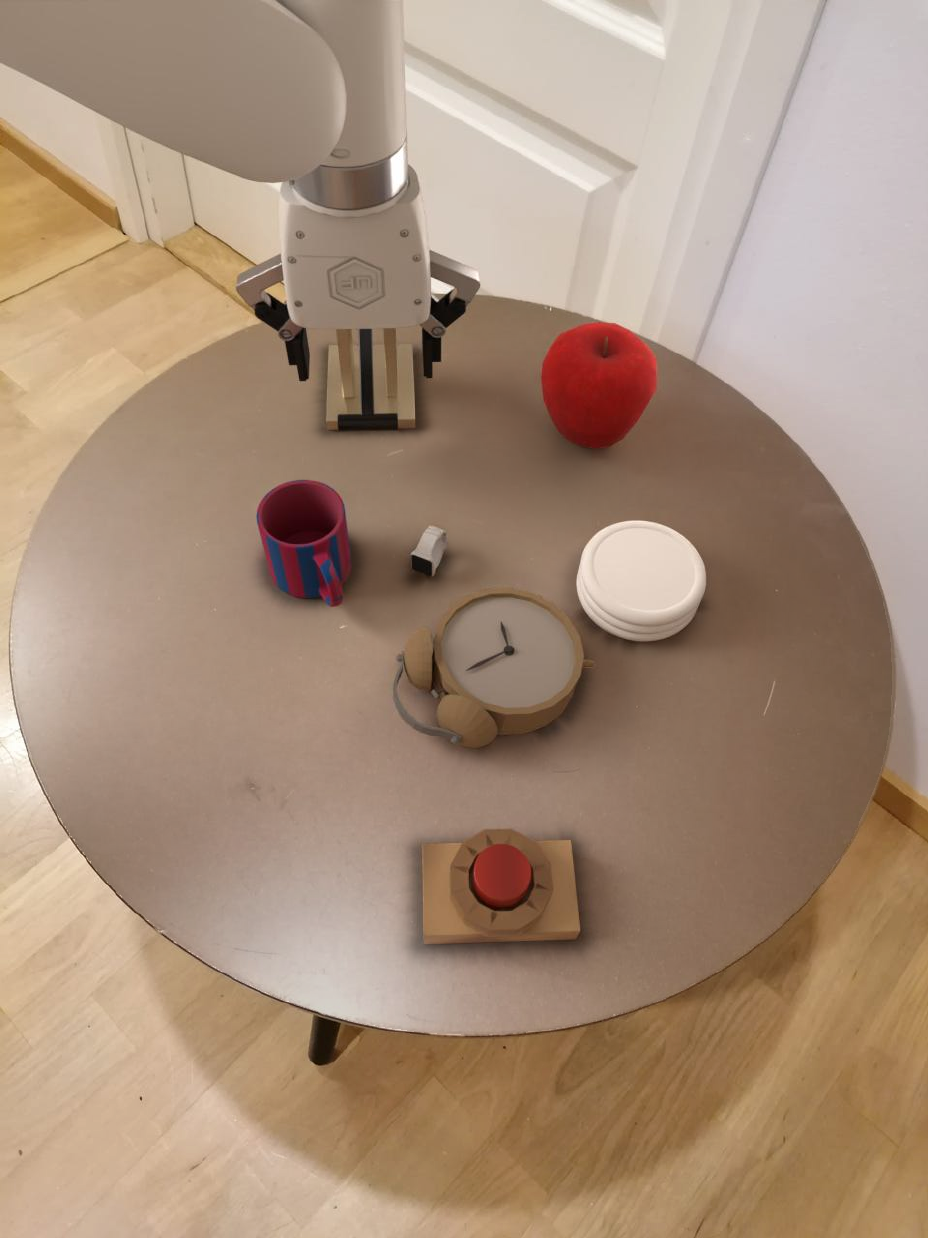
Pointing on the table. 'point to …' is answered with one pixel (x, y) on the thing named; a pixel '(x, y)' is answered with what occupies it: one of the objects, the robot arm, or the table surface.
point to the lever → (367, 396)
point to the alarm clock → (494, 666)
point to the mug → (306, 539)
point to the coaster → (640, 580)
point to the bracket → (388, 379)
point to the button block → (471, 920)
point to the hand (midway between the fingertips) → (366, 367)
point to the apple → (597, 383)
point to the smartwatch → (429, 551)
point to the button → (501, 875)
